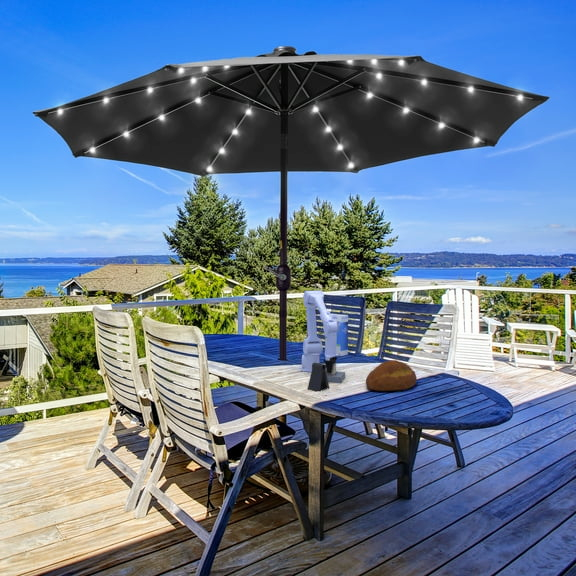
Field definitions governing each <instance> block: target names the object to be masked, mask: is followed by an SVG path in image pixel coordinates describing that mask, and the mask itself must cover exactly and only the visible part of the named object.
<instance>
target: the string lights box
mask: <svg viewBox="0 0 576 576" xmlns="http://www.w3.org/2000/svg"><path fill="white" fill-rule="evenodd" d="M330 314H331V316H332V318H333V320H335V321H337V322H338V325H339V331H338V332H337V342H336V354H339V356H338V357H343V356H347V355H349V315H348V314H337V313H330Z"/></svg>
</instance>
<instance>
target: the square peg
mask: <svg viewBox="0 0 576 576" xmlns="http://www.w3.org/2000/svg"><path fill="white" fill-rule="evenodd" d="M336 371H337V363H334V364H333V368H332V373H327V369H326V374H327V375H336Z"/></svg>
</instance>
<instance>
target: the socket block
mask: <svg viewBox="0 0 576 576" xmlns="http://www.w3.org/2000/svg"><path fill="white" fill-rule="evenodd" d="M344 378H345V379H346V372H345V371H337V370H336V375H327V379H328V383H330V382H333V383H334V384H342V382H343V381H344V380H345V379H344ZM343 379H344V380H343ZM342 380H343V381H342ZM333 383H332V384H333Z"/></svg>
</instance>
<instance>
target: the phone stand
mask: <svg viewBox="0 0 576 576" xmlns="http://www.w3.org/2000/svg"><path fill="white" fill-rule="evenodd" d="M329 383H330V382H328V379H327V374H326V365H325V363H320V362H319V363H313V364H312V372H310V378H309V381H308V385H307V390H309V389H310V390H309V391H313V390H314V392H317V391H319V392H321V390H322V391H325V390H327V388H328V389H330V384H329Z"/></svg>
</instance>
